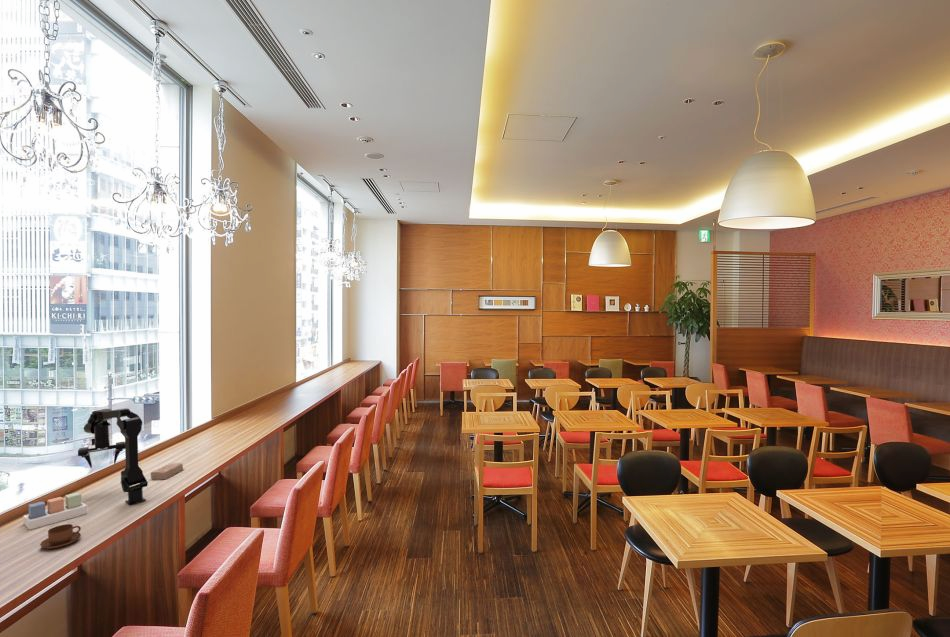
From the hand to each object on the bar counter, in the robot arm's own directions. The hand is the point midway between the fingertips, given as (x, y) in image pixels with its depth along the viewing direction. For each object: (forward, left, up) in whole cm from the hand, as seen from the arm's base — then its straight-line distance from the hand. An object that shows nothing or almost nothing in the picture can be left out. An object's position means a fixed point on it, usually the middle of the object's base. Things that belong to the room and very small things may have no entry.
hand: (103, 465), depth 239 cm
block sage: (-18, +16, -11) cm, 27 cm away
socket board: (-18, +22, -14) cm, 32 cm away
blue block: (-18, +29, -11) cm, 36 cm away
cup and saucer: (-50, +28, -15) cm, 59 cm away
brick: (+4, -30, -15) cm, 34 cm away
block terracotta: (-18, +22, -11) cm, 31 cm away
